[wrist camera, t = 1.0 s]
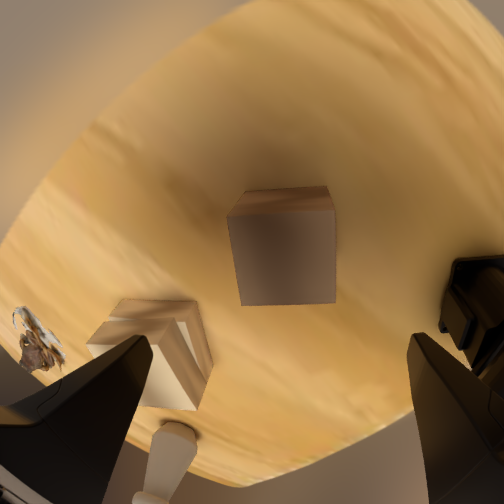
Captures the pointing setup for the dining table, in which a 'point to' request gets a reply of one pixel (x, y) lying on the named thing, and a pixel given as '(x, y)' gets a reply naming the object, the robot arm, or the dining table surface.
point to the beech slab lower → (185, 319)
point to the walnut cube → (284, 246)
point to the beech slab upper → (158, 361)
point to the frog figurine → (37, 343)
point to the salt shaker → (167, 463)
